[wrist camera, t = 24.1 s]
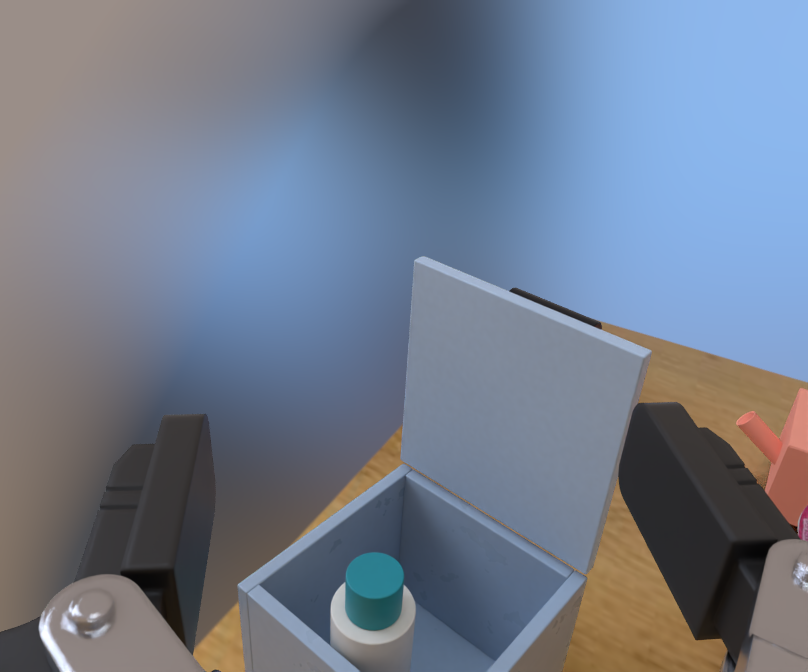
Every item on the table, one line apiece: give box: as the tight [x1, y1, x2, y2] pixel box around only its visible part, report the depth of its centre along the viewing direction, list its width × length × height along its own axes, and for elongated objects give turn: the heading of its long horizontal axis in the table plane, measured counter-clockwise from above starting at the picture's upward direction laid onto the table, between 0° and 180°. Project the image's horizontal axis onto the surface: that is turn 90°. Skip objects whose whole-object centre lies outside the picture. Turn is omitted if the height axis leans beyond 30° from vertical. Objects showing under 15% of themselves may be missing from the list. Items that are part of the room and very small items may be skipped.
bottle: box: [330, 552, 416, 672], centre depth 33 cm, size 4×4×12 cm
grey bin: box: [238, 464, 587, 672], centre depth 36 cm, size 11×11×10 cm
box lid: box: [401, 256, 652, 574], centre depth 35 cm, size 12×11×4 cm
